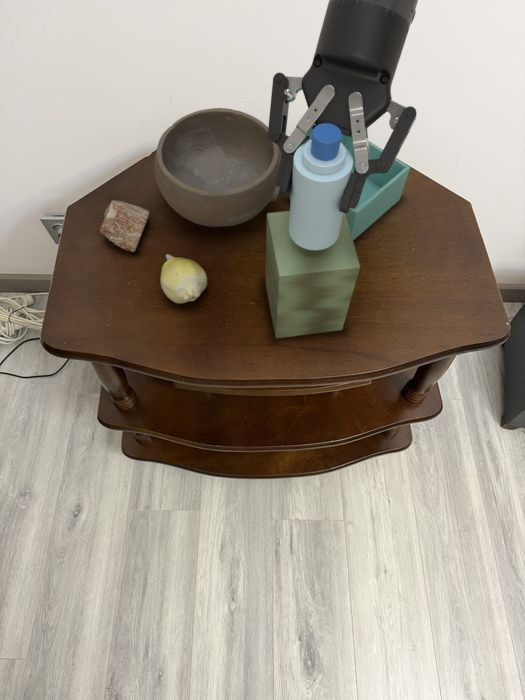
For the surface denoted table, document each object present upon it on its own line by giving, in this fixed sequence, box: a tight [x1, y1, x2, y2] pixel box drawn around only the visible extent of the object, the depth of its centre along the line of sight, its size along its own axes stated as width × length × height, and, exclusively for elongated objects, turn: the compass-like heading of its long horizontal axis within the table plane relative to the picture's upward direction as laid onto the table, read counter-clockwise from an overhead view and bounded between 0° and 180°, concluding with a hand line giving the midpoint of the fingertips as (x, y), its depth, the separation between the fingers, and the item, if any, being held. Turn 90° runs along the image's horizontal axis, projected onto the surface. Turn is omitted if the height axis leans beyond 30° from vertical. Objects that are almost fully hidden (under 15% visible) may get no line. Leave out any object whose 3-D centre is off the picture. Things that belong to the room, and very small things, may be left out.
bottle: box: [289, 123, 353, 250], centre depth 52 cm, size 6×6×13 cm
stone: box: [99, 200, 150, 253], centre depth 76 cm, size 7×6×5 cm
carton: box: [288, 134, 411, 241], centre depth 78 cm, size 12×12×6 cm
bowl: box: [153, 107, 282, 228], centre depth 76 cm, size 17×18×10 cm
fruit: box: [159, 253, 208, 304], centre depth 71 cm, size 6×6×10 cm
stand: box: [264, 210, 361, 339], centre depth 66 cm, size 9×9×14 cm
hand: (313, 202), depth 52 cm, fingers closed on bottle, 5 cm apart
